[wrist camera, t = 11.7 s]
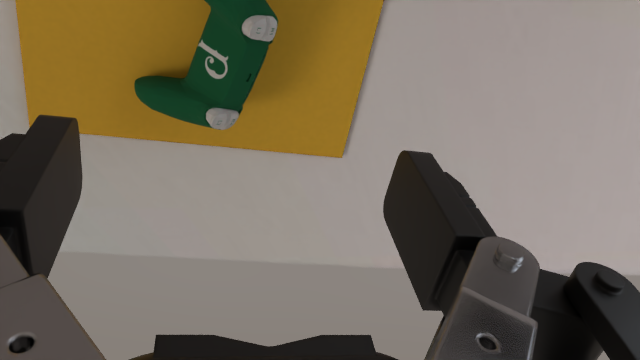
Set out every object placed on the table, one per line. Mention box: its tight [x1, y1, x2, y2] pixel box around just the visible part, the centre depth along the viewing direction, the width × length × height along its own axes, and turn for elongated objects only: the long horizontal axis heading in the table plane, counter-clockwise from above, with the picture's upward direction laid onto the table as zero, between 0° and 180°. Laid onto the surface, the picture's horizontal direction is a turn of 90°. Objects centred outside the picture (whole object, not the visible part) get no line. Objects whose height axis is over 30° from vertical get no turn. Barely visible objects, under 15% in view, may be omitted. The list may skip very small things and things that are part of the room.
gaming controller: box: [134, 0, 278, 130], centre depth 28 cm, size 9×4×6 cm
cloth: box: [16, 0, 384, 158], centre depth 29 cm, size 20×14×1 cm
